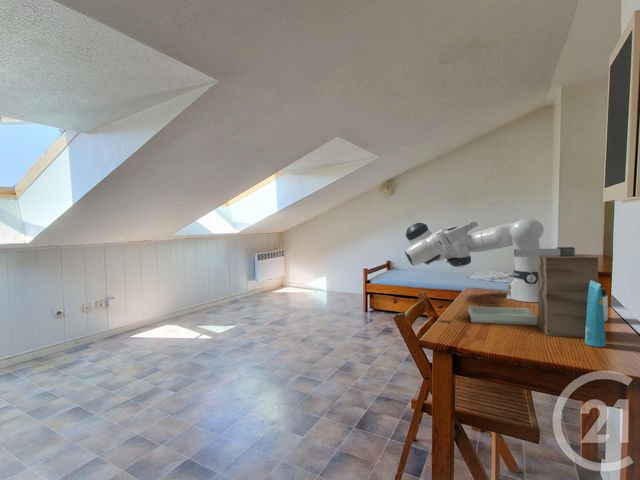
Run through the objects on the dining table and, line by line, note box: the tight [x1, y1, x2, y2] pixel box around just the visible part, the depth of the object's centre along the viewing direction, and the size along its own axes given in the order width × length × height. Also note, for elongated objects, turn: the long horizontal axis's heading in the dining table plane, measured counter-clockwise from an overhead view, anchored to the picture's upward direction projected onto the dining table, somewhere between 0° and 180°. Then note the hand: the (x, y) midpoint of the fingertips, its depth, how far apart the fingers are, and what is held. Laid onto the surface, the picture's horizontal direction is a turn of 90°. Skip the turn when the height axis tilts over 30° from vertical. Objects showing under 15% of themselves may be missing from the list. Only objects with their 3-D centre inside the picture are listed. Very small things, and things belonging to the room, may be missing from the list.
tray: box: [468, 305, 538, 326], centre depth 130 cm, size 13×22×3 cm, turn 70°
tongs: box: [513, 246, 576, 258], centre depth 113 cm, size 3×17×3 cm, turn 70°
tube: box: [584, 280, 607, 348], centre depth 100 cm, size 7×5×19 cm, turn 165°
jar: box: [601, 286, 609, 322], centre depth 125 cm, size 9×8×12 cm
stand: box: [537, 254, 599, 339], centre depth 112 cm, size 10×14×26 cm
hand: (476, 223), depth 129 cm, fingers open, 8 cm apart
